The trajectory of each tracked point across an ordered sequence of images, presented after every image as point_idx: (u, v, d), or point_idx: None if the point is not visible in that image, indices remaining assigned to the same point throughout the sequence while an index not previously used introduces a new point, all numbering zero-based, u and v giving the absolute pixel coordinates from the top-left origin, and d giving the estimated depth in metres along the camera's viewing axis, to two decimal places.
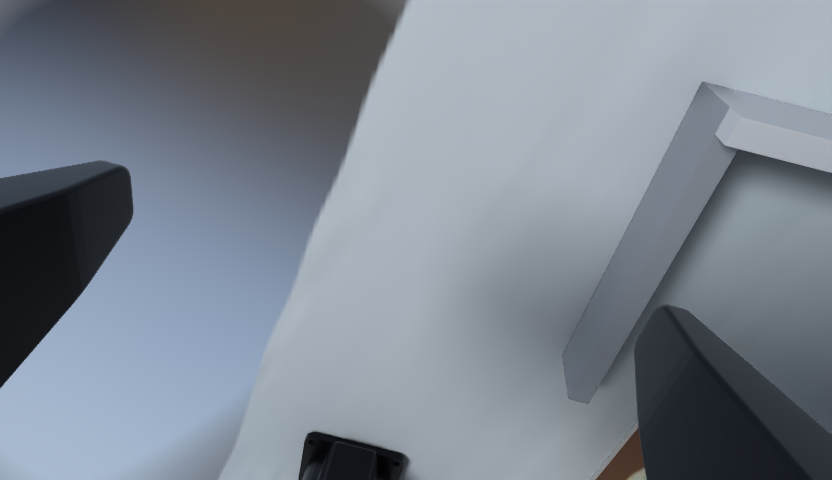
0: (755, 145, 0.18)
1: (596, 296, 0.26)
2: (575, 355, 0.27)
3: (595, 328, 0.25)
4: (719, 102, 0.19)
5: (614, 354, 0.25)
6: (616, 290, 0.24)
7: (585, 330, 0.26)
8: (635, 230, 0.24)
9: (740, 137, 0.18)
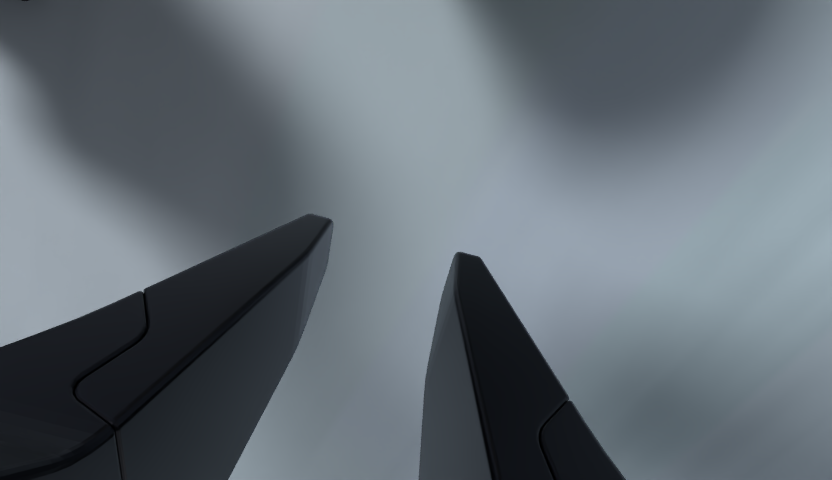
0: None
1: None
2: None
3: None
4: None
5: None
6: None
7: None
8: None
9: None
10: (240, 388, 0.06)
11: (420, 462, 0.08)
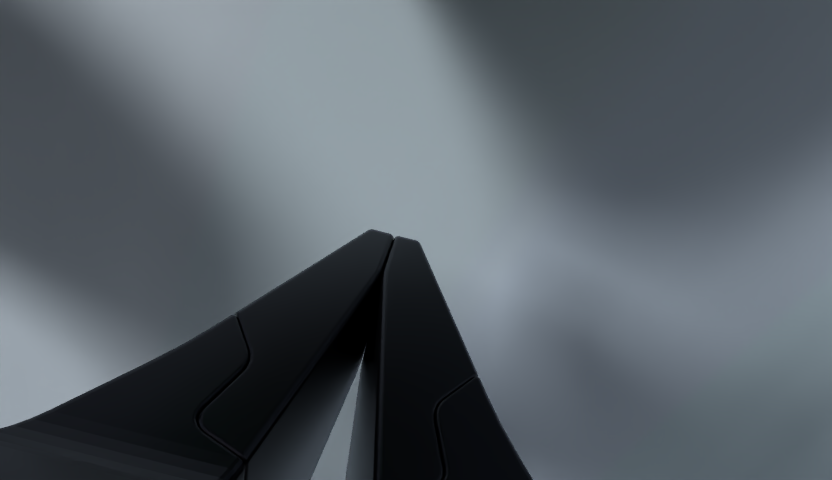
0: None
1: None
2: None
3: None
4: None
5: None
6: None
7: None
8: None
9: None
10: (322, 409, 0.06)
11: (350, 444, 0.08)
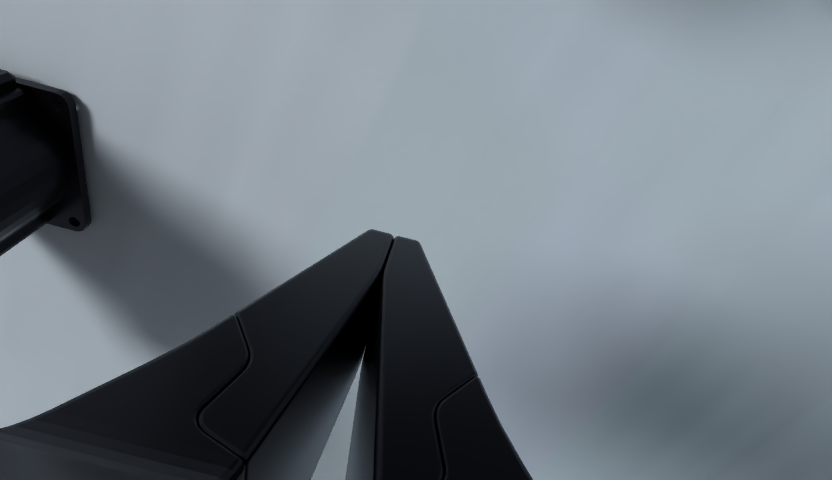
0: None
1: None
2: None
3: None
4: None
5: None
6: None
7: None
8: None
9: None
10: (322, 409, 0.06)
11: (350, 444, 0.08)
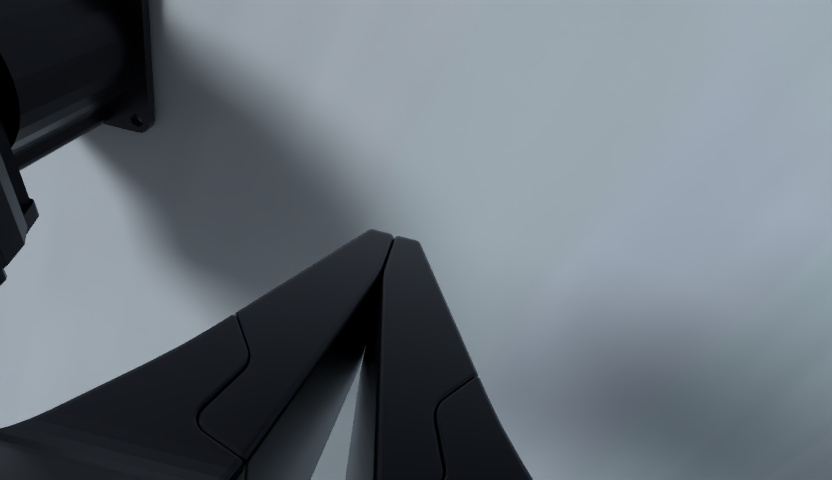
0: None
1: None
2: None
3: None
4: None
5: None
6: None
7: None
8: None
9: None
10: (322, 409, 0.06)
11: (350, 444, 0.08)
